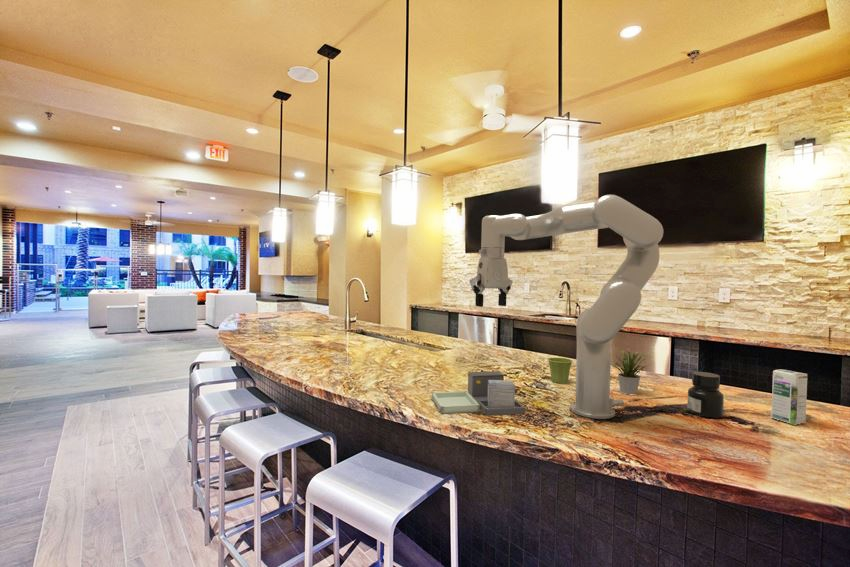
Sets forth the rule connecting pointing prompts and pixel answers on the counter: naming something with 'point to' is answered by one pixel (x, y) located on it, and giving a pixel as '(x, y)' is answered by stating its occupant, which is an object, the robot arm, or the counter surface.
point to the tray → (455, 402)
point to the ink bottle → (705, 395)
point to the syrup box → (789, 396)
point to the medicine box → (501, 394)
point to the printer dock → (480, 393)
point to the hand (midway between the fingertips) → (490, 306)
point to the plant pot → (559, 369)
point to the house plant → (629, 372)
